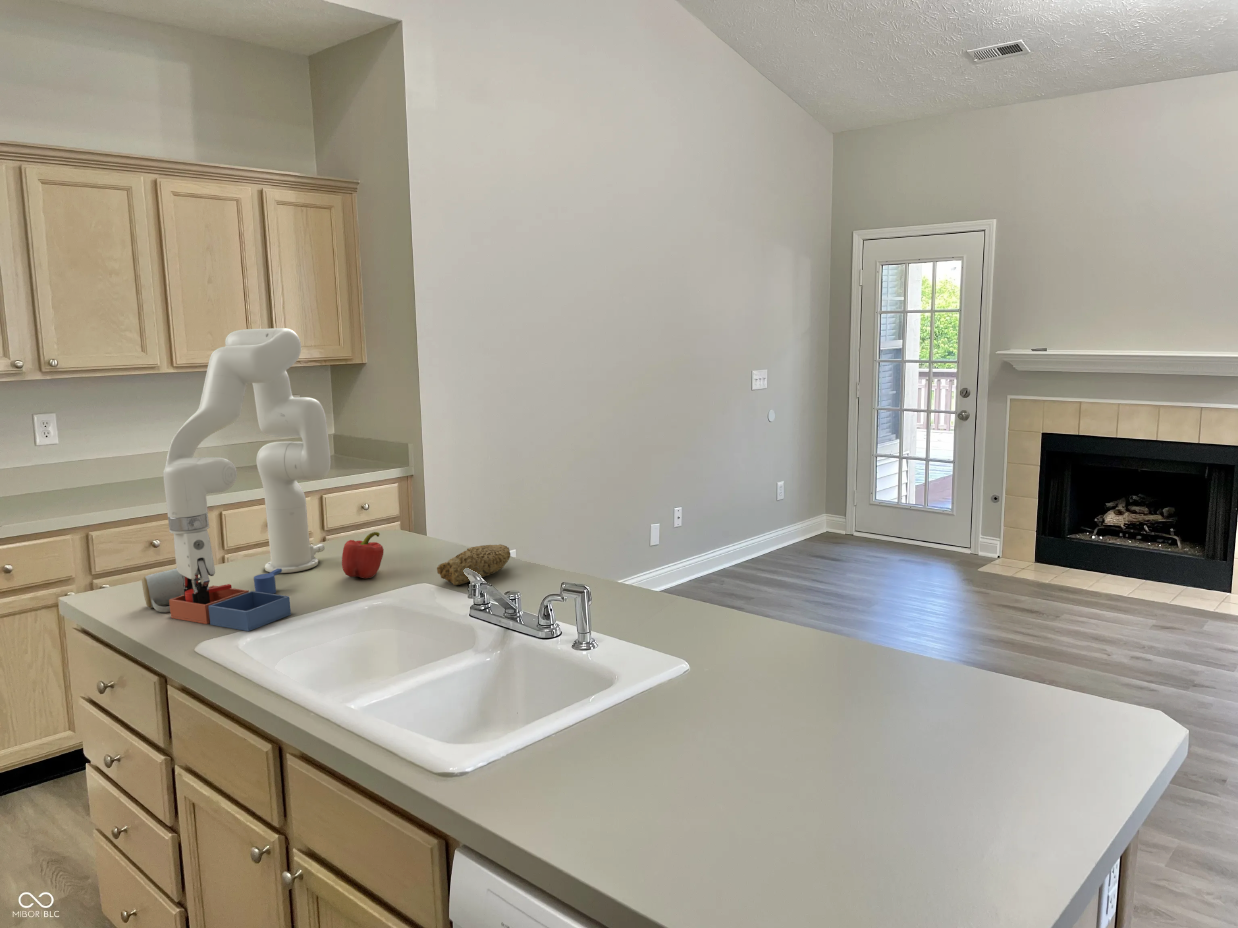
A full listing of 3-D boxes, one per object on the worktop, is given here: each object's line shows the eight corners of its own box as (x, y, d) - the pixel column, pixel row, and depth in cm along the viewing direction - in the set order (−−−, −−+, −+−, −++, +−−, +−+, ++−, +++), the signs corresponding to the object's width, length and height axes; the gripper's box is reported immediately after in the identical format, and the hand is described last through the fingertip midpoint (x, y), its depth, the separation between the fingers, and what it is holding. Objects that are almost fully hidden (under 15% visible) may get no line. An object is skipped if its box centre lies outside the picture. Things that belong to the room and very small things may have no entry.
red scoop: (190, 613, 188) (188, 594, 188) (183, 609, 191) (181, 590, 191) (236, 603, 194) (234, 585, 194) (228, 599, 198) (226, 581, 197)
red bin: (215, 602, 201) (213, 585, 200) (250, 608, 196) (248, 590, 195) (171, 617, 191) (168, 599, 190) (206, 624, 186) (204, 605, 185)
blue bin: (253, 608, 195) (252, 590, 195) (291, 614, 190) (289, 596, 190) (210, 624, 185) (208, 605, 185) (248, 631, 180) (246, 611, 180)
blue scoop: (270, 595, 204) (268, 578, 204) (251, 595, 205) (249, 578, 204) (289, 584, 213) (288, 567, 213) (272, 584, 214) (270, 567, 213)
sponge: (463, 594, 204) (531, 558, 216) (452, 562, 202) (520, 528, 215) (434, 593, 214) (500, 559, 226) (423, 563, 212) (490, 530, 225)
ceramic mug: (143, 604, 201) (139, 570, 200) (184, 596, 206) (180, 564, 204) (149, 617, 193) (145, 582, 191) (191, 609, 197) (188, 574, 196)
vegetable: (369, 567, 225) (365, 528, 224) (397, 573, 219) (394, 532, 218) (332, 578, 216) (328, 537, 215) (360, 584, 210) (356, 542, 209)
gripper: (222, 525, 185) (231, 612, 188) (194, 514, 197) (202, 596, 200) (183, 531, 180) (193, 621, 183) (156, 520, 192) (166, 604, 195)
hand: (198, 607), depth 191 cm, fingers closed on red scoop, 4 cm apart
